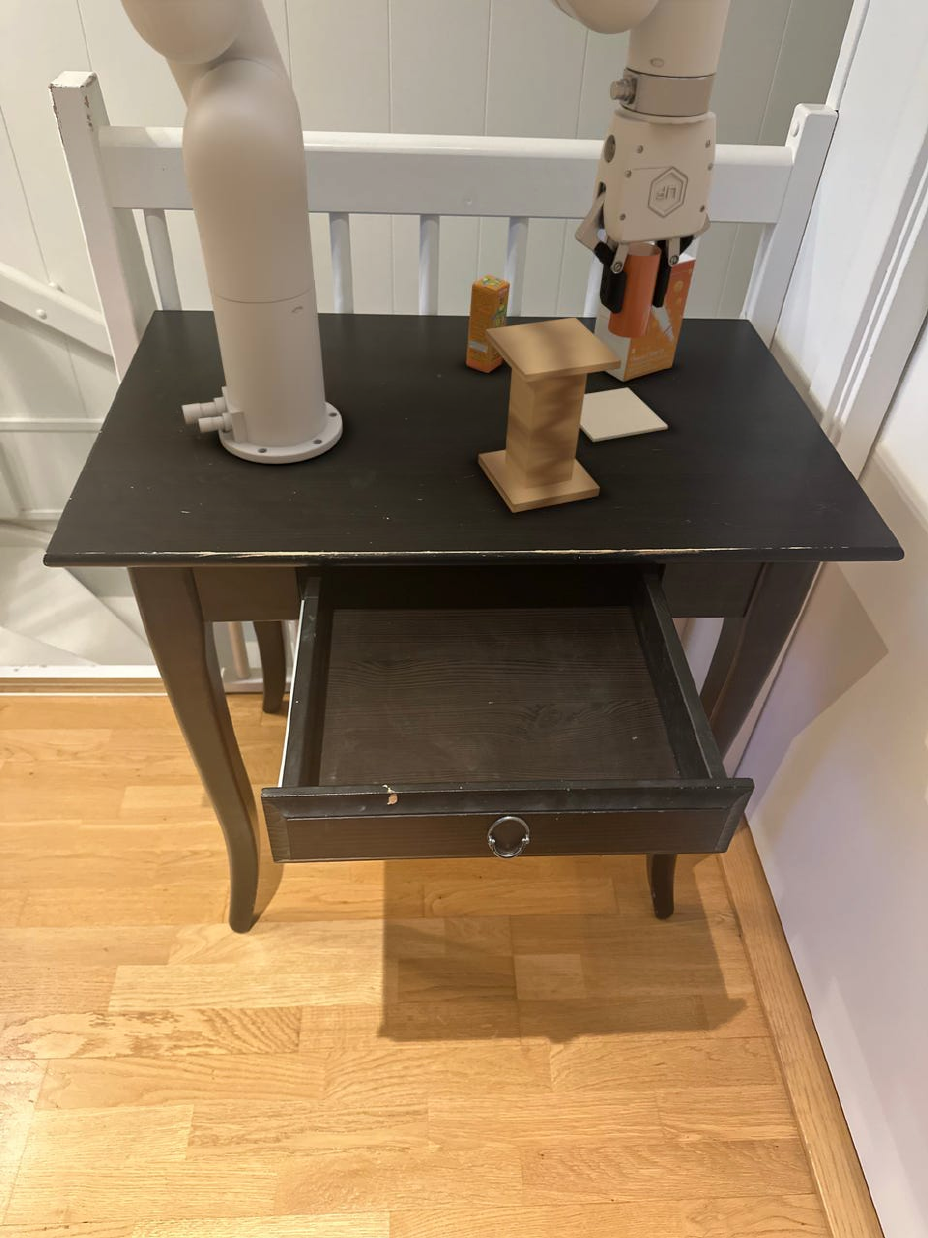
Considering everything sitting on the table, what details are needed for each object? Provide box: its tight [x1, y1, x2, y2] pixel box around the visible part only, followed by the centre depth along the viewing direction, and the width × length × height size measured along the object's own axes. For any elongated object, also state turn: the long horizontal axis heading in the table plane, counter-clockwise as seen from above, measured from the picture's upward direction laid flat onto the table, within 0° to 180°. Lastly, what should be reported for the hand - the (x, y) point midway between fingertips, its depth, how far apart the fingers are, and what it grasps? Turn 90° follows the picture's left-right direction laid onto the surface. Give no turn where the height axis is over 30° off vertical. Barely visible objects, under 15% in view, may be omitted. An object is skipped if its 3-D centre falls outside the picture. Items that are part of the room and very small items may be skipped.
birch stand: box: [477, 317, 621, 514], centre depth 78 cm, size 9×9×14 cm
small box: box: [593, 242, 697, 383], centre depth 97 cm, size 8×6×13 cm
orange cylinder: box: [608, 242, 662, 338], centre depth 83 cm, size 4×4×8 cm
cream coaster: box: [579, 387, 669, 443], centre depth 92 cm, size 9×9×1 cm
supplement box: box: [465, 274, 511, 374], centre depth 97 cm, size 3×3×10 cm
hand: (631, 303), depth 84 cm, fingers closed on orange cylinder, 4 cm apart
